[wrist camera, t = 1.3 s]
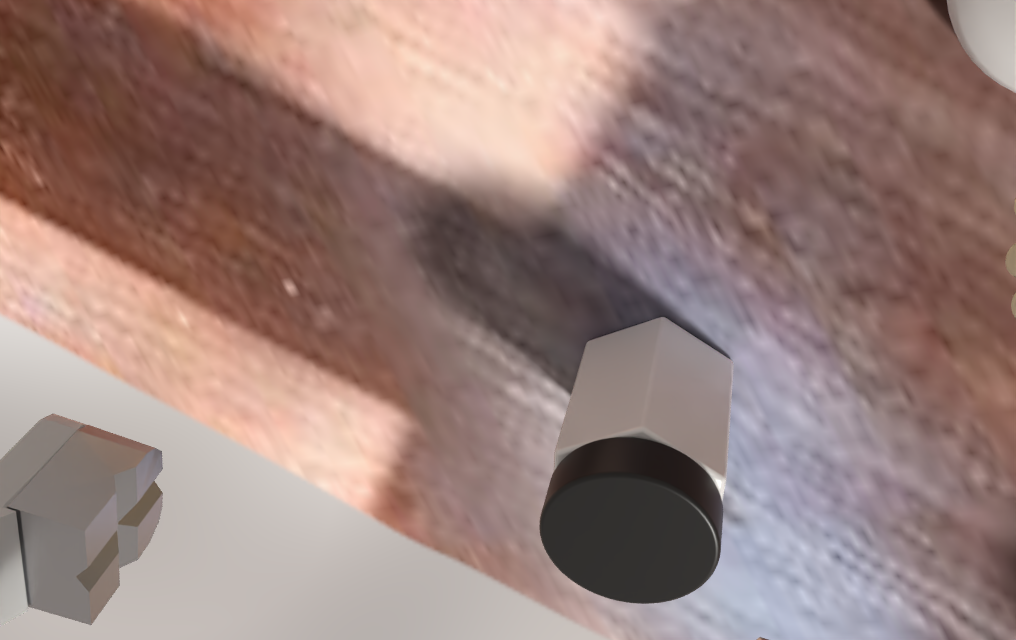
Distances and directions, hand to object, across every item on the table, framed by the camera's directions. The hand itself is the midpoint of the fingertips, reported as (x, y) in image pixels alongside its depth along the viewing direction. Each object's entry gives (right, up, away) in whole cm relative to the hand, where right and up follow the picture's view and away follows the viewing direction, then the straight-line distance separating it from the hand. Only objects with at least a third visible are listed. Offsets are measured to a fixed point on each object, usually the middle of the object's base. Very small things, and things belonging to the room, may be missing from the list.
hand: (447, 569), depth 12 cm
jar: (+9, 0, +39) cm, 40 cm away
